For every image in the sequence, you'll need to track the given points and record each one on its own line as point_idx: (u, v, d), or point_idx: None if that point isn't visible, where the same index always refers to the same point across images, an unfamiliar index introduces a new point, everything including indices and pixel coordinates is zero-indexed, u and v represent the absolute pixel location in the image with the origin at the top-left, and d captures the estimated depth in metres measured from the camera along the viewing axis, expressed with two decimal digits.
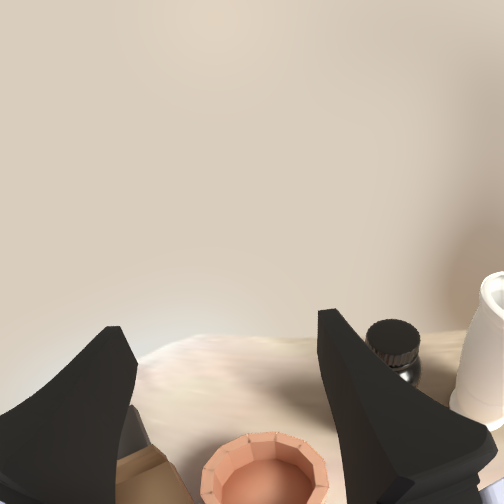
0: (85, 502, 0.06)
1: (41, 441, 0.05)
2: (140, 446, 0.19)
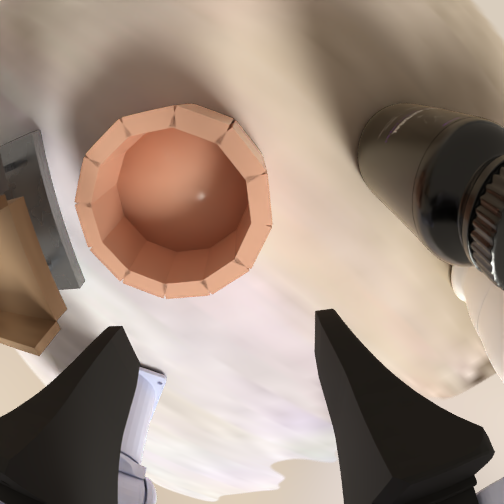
0: (88, 503, 0.06)
1: (44, 442, 0.05)
2: None
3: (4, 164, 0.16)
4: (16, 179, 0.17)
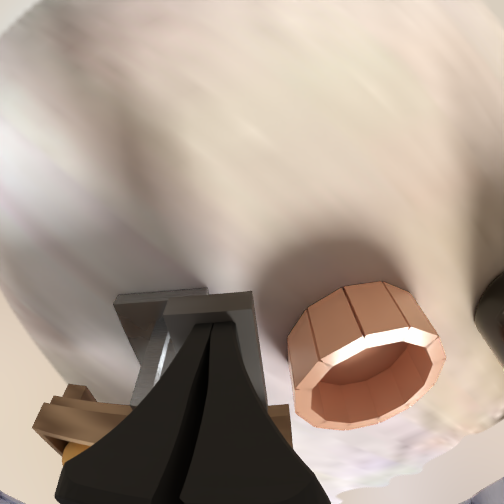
0: None
1: (173, 464, 0.05)
2: None
3: (157, 319, 0.19)
4: None
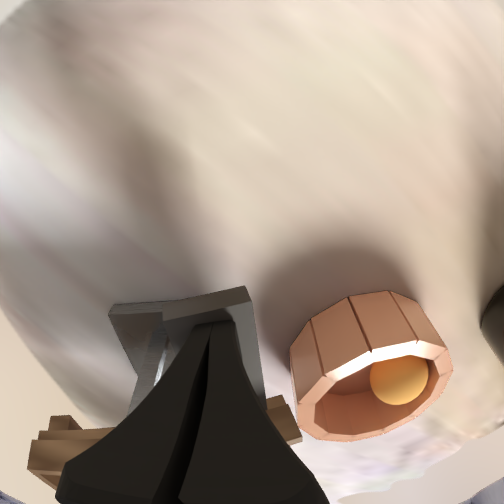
0: None
1: (174, 464, 0.05)
2: None
3: (153, 331, 0.18)
4: None
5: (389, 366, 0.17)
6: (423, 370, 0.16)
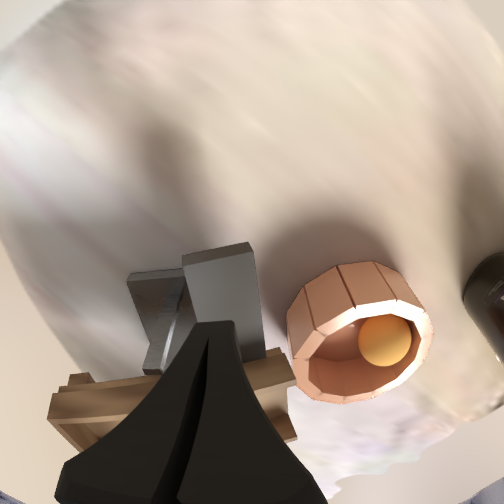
0: None
1: (173, 464, 0.05)
2: (251, 336, 0.15)
3: (166, 295, 0.21)
4: (183, 310, 0.21)
5: (374, 328, 0.20)
6: (405, 333, 0.19)
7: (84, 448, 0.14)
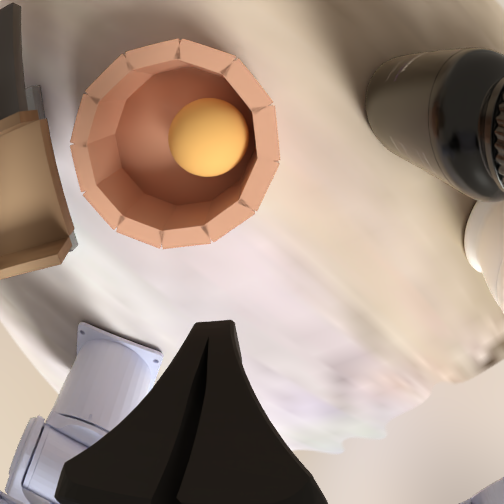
0: None
1: (173, 464, 0.05)
2: (5, 86, 0.09)
3: None
4: None
5: None
6: (221, 109, 0.13)
7: None
